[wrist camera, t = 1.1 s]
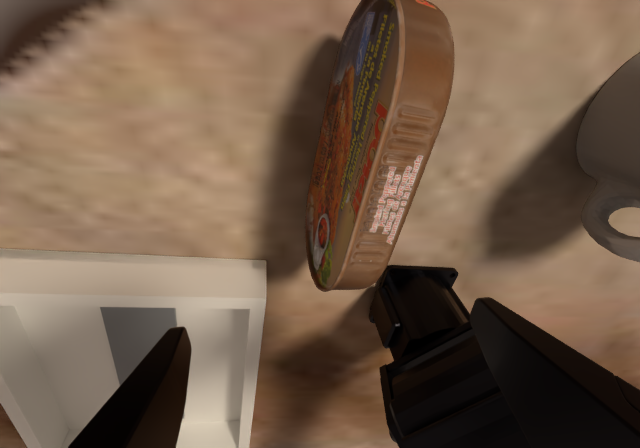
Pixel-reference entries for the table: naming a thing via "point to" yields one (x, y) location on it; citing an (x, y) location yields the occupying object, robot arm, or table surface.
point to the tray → (126, 338)
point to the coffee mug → (613, 157)
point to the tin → (376, 137)
